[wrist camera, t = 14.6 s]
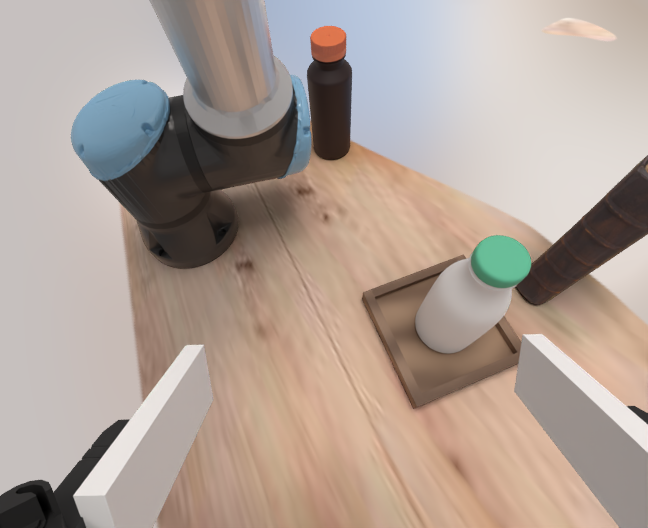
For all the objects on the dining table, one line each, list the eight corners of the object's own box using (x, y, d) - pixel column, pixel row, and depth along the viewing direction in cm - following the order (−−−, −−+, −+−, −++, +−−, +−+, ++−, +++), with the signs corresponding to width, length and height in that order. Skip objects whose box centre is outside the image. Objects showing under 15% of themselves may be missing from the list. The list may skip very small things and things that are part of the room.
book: (532, 311, 48) (694, 202, 26) (497, 272, 51) (615, 145, 29) (615, 257, 52) (822, 119, 29) (577, 223, 55) (739, 75, 32)
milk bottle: (462, 365, 44) (542, 315, 27) (405, 338, 46) (445, 275, 28) (479, 314, 47) (561, 238, 29) (425, 291, 49) (472, 207, 31)
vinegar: (307, 142, 65) (295, 31, 48) (338, 129, 66) (338, 16, 49) (324, 165, 62) (317, 56, 45) (356, 152, 64) (362, 40, 46)
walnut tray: (362, 298, 50) (363, 292, 48) (458, 262, 52) (463, 254, 50) (413, 408, 43) (417, 407, 41) (522, 361, 45) (531, 357, 43)
